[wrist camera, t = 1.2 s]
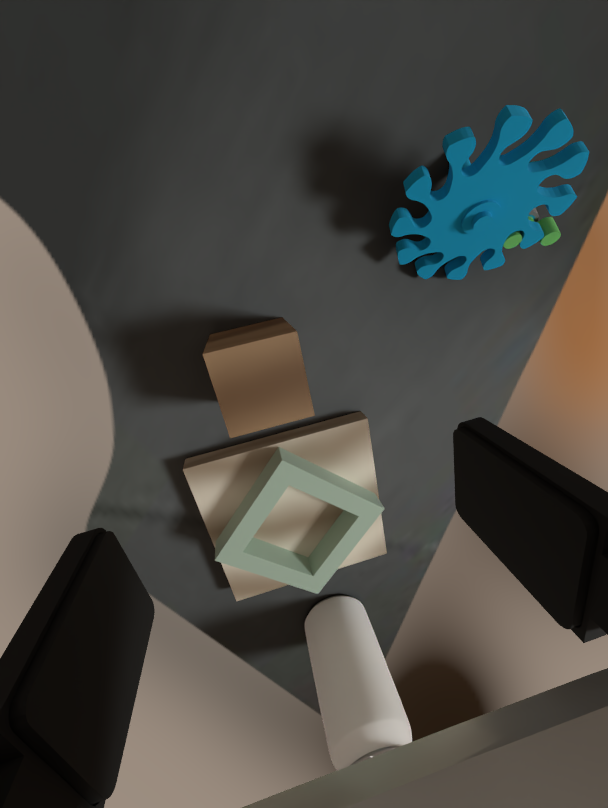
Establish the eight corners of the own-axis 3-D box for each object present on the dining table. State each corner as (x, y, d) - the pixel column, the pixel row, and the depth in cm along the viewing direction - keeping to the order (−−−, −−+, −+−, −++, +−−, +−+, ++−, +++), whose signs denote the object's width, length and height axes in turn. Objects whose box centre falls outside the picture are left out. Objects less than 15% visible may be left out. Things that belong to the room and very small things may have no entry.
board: (185, 458, 26) (182, 469, 24) (360, 411, 27) (367, 418, 26) (236, 586, 31) (236, 601, 30) (380, 541, 33) (386, 553, 31)
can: (326, 585, 33) (372, 739, 22) (375, 602, 36) (439, 749, 25) (291, 630, 35) (318, 797, 24) (340, 643, 37) (386, 801, 26)
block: (210, 334, 23) (202, 354, 17) (281, 317, 23) (296, 331, 18) (230, 401, 25) (230, 438, 19) (296, 384, 25) (314, 415, 20)
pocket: (215, 541, 27) (214, 560, 25) (278, 446, 25) (282, 460, 23) (312, 574, 30) (317, 594, 28) (374, 493, 28) (384, 508, 27)
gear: (360, 264, 21) (499, 75, 13) (350, 200, 24) (462, 6, 15) (484, 304, 26) (649, 181, 17) (465, 247, 28) (602, 114, 20)
